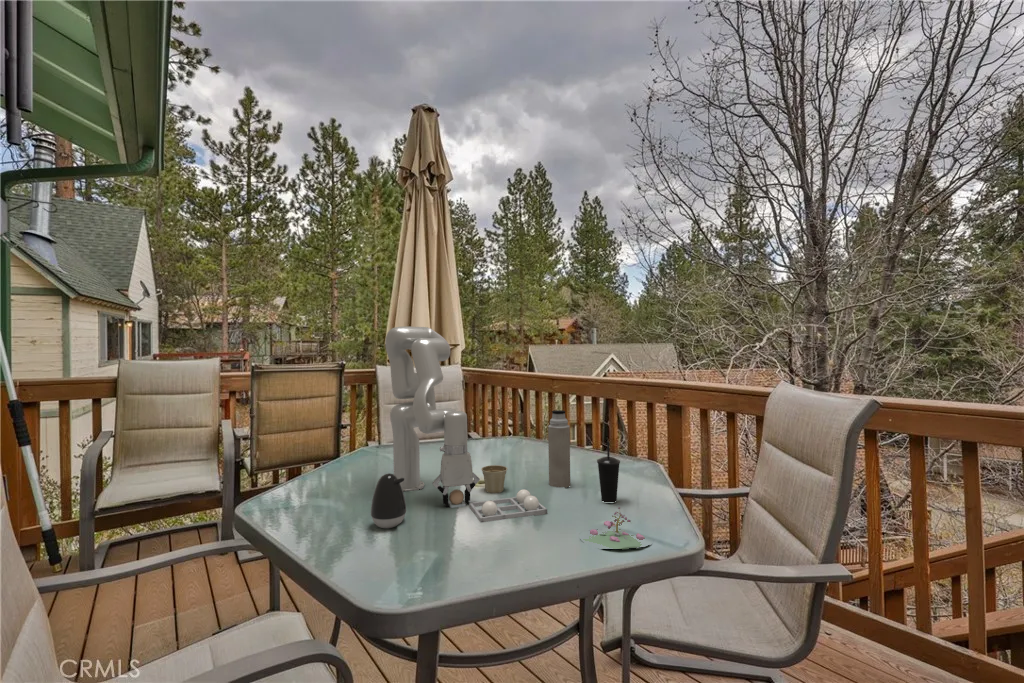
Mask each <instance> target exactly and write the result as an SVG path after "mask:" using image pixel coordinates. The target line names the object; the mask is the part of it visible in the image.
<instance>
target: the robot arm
mask: <svg viewBox="0 0 1024 683" xmlns="http://www.w3.org/2000/svg"><path fill="white" fill-rule="evenodd" d="M384 344H385V351H386V354H387V358H388V360H389V367H390V368H389V369H390V378H391V389H392V394H393V396H394V398H396V399H398V400H410V399H413V401H410V402H409V401H408V402H402V403H397V404H396V405H394V406H393V407H392V408H391V410H390V412H389V413H390V414H389V417H390V424H391V430H392V441H393V443H392V445H393V456H392V458H393V475H395V476H396V477H397V478H398V479H400V478H404V481H403V482H401V483H400V484H401V487H402V489H403V493H407V492H414V491H420V490H422V489H423V488H424V487H425V483H424V481H421V474H420V473H421V472H420V471H421V469H420V466H421V465H420V459H421V458H420V453H421V452H420V438H419V436H418V434H417V433H416V431H415V429H414V428H418V429H419V431H420V432H422V433H423V434H425V435H426V434H434V433H435V434H436V433H439V432H443V434H444V435H443V441H444V442H443V446H440V447H439V451H440V452H442V455H441V460H440V472H439V473H440V474H439V475H438V476H437V477H436V478H435V479H434V480H433V481H432V485H433V486H434V487H435V488H436V489H437V490H438V491H439V492H440V493H441V494H442V504H443V505H444V506H445V507H446V508H448V507H449V505H448V501H449V494H448V491H449V489H450V488H451V487H460V486H464V487H465V490H464V502H465V504H466V506H467V505H469V503H470V501H471V492H472V491H473V489H474V488H475V487H476V485H477V484H478V483H479V482H480V480H481V479H480V477H479V476H478V475H476V473H475V472H473V464H472V456H471V453H470V452H468V415H467V413H466V412H465V411H462V410H461V411H460V410H455V409H453V408H449V407H445V408H437V404H436V394H435V386H437V385H439V384H441V383H442V381H443V380H444V374H443V371H442V367H441V365H440V362H445V361H447V360H448V359H449V358H450V356H451V346H450V344H449V342H448V341H447V339H445V337H443V336H442V335H441V334H439V333H438V332H436V331H435V330H434V329H433V328H430V327H428V326H397V327H396V326H395V327H392V328H390V329H389V330H388V332H387V333H386V336H385V342H384ZM407 350H410V352H411V355H410V354H409V352H408V351H407ZM411 356H412V357H411ZM414 368H415V370H414ZM415 371H416V372H415ZM439 483H441V485H442V486H441V485H440V484H439ZM419 489H420V490H419Z"/></svg>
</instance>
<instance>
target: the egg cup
mask: <svg viewBox="0 0 1024 683" xmlns="http://www.w3.org/2000/svg"><path fill="white" fill-rule="evenodd" d="M466 506H467V504H466V503H465V500H463V501H462V503H460V504H456V505H454V504H452V503H451V502H450V500H448V507H449V508H450V509H452V508H453V509H454V508H461V507H466Z"/></svg>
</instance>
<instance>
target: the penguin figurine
mask: <svg viewBox="0 0 1024 683" xmlns="http://www.w3.org/2000/svg"><path fill="white" fill-rule="evenodd" d="M403 481H404V478H400V479H398V478H397V477H396V476H395V475H394V473H385V474H383V475H382V476H381V477H380V478H379V480H378V481H377V483H376V485H375V488H374V492H373V495H372V500H371V505H370V517H371V518H372V521H373V523H374V524H375V525H376V526H377V527H378V528H381V529H393V528H396V527H398V525H400V524H401V523H402V522H403V521H404V519H405V517H406V514H407V503H406V497H405V492H403V489H402V487H401V484H400V483H401V482H403Z"/></svg>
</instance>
